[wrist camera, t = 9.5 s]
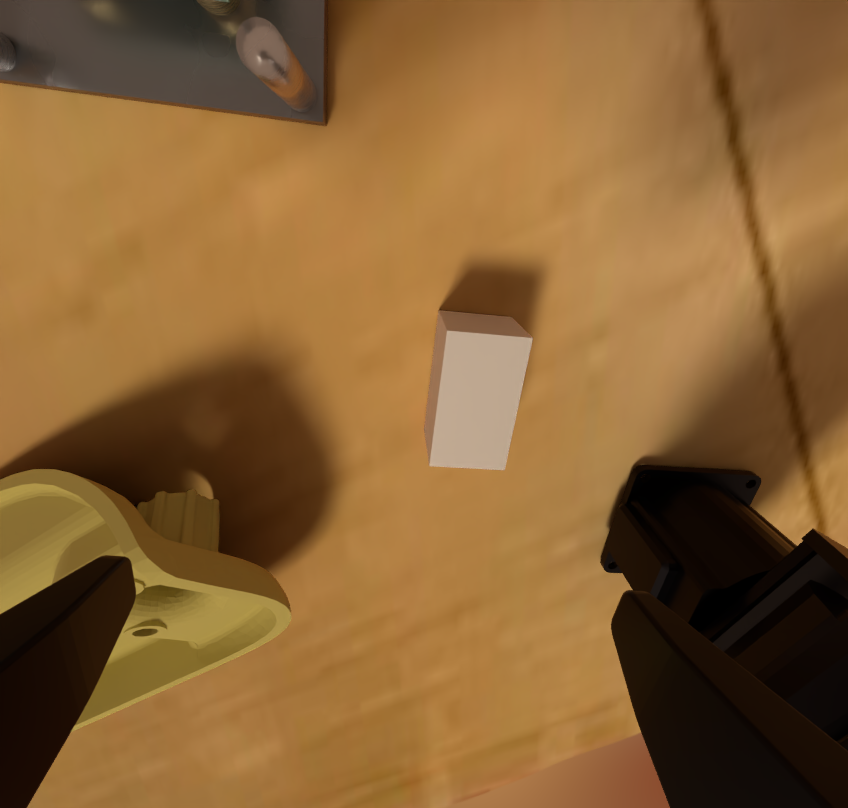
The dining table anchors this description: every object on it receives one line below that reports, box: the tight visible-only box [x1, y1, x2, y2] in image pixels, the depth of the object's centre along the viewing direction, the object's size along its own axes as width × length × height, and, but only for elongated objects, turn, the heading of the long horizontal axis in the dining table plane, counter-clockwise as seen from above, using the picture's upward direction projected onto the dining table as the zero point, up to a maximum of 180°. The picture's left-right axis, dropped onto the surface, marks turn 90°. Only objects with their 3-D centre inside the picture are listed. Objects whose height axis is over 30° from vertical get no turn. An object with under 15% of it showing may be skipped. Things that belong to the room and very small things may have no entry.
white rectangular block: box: [424, 310, 533, 470], centre depth 18 cm, size 3×5×3 cm, turn 174°
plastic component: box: [0, 469, 291, 732], centre depth 20 cm, size 20×7×10 cm
